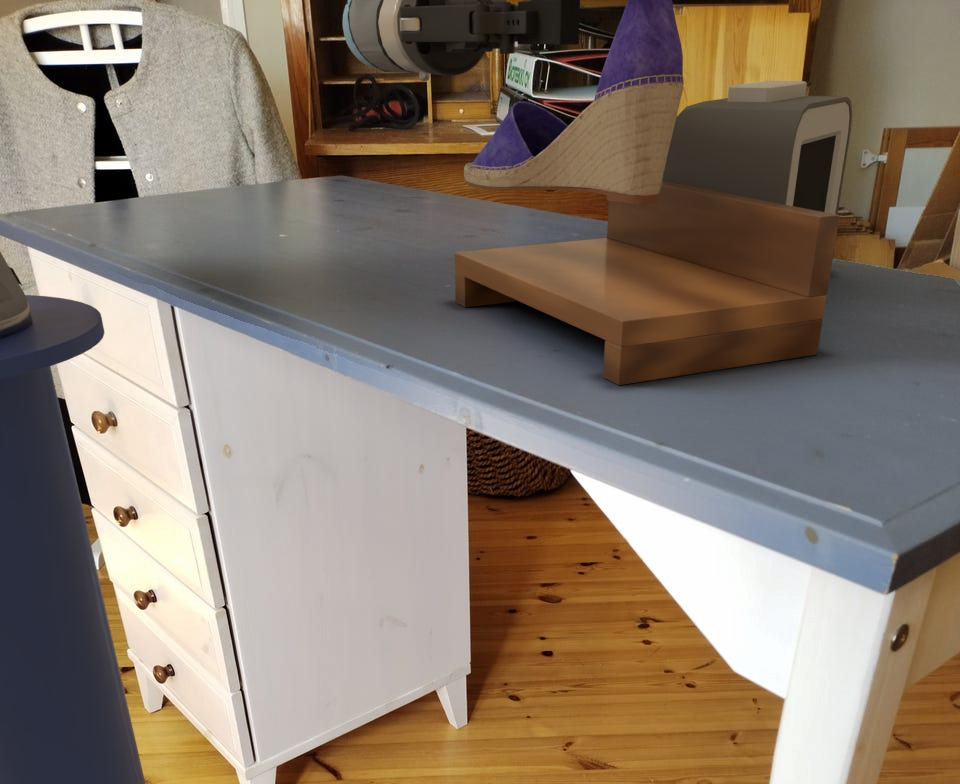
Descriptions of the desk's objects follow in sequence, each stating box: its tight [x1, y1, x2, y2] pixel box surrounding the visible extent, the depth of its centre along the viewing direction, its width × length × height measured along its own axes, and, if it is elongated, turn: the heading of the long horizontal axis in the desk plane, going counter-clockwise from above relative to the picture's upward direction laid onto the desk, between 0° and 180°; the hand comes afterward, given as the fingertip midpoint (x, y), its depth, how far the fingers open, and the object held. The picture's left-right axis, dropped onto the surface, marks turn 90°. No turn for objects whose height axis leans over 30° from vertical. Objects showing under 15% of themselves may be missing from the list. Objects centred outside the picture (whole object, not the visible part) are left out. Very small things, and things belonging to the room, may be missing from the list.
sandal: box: [463, 0, 685, 205], centre depth 73 cm, size 8×20×15 cm, turn 33°
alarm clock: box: [662, 80, 853, 215], centre depth 87 cm, size 16×11×16 cm
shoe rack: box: [454, 181, 841, 386], centre depth 75 cm, size 16×26×9 cm, turn 25°
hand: (569, 22), depth 70 cm, fingers closed
